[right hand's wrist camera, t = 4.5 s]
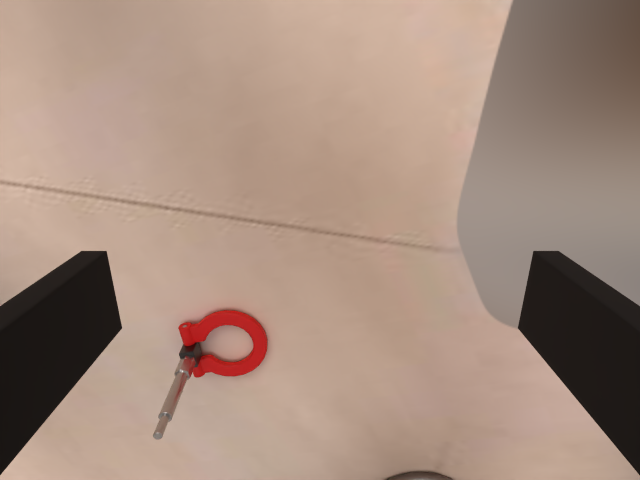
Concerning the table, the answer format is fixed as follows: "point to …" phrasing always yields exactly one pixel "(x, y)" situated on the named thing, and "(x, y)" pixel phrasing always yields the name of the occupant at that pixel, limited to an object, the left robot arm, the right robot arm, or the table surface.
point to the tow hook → (210, 357)
